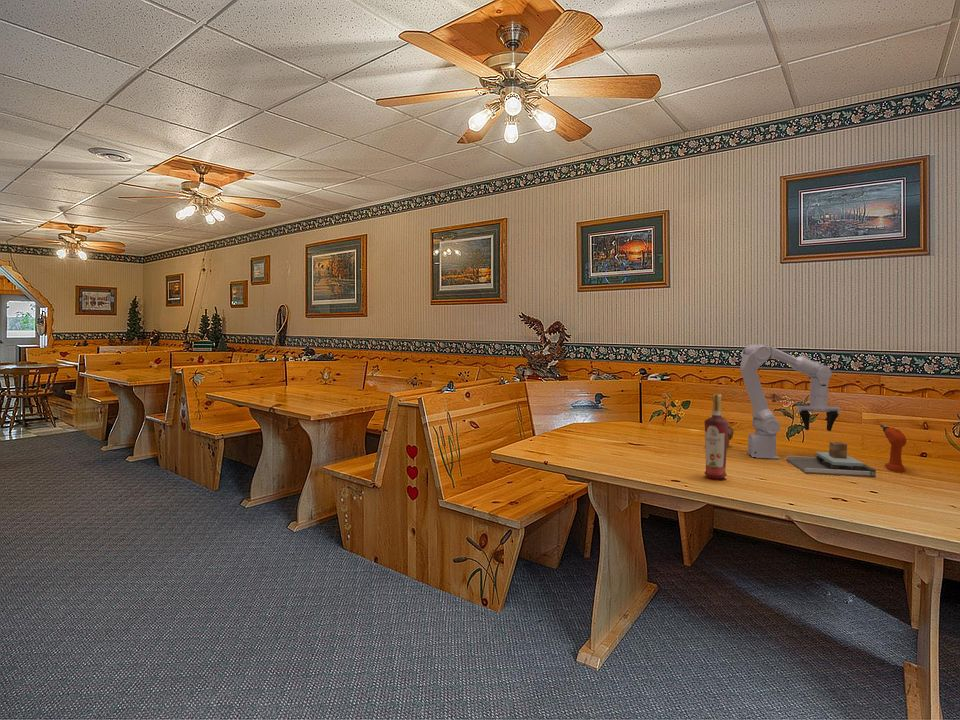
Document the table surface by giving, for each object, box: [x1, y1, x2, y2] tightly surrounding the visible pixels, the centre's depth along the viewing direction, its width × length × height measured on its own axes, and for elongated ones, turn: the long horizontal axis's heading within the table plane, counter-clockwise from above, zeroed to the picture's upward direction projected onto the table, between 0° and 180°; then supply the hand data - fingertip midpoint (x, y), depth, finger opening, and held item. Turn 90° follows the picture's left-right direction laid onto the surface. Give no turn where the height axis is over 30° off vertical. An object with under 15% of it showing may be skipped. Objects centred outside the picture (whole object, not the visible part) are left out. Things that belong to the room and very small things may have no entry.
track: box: [786, 455, 877, 478], centre depth 186 cm, size 21×19×2 cm
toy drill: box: [879, 424, 907, 473], centre depth 189 cm, size 5×19×15 cm, turn 161°
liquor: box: [703, 393, 730, 480], centre depth 174 cm, size 7×7×28 cm
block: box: [828, 441, 848, 459], centre depth 186 cm, size 4×4×5 cm
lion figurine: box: [704, 425, 734, 449], centre depth 221 cm, size 15×5×9 cm, turn 113°
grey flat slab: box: [814, 451, 864, 471], centre depth 186 cm, size 9×16×3 cm, turn 166°
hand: (817, 430), depth 204 cm, fingers open, 7 cm apart
